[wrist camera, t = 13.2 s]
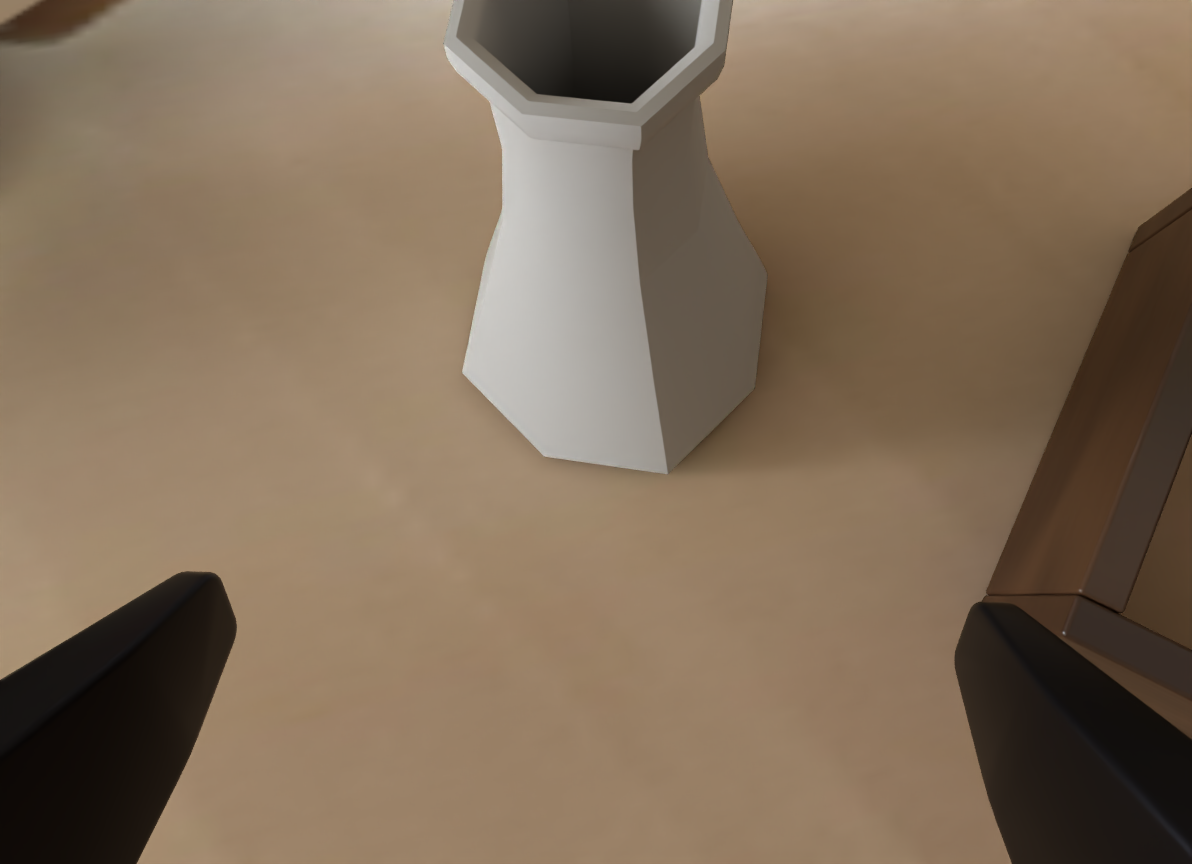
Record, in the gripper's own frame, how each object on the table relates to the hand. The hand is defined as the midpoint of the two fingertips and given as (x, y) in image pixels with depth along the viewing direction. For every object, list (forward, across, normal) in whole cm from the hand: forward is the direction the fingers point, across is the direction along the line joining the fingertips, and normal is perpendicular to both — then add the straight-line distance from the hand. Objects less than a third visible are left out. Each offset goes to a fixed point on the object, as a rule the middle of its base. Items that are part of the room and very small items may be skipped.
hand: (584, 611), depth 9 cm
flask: (+10, 0, +1) cm, 10 cm away
